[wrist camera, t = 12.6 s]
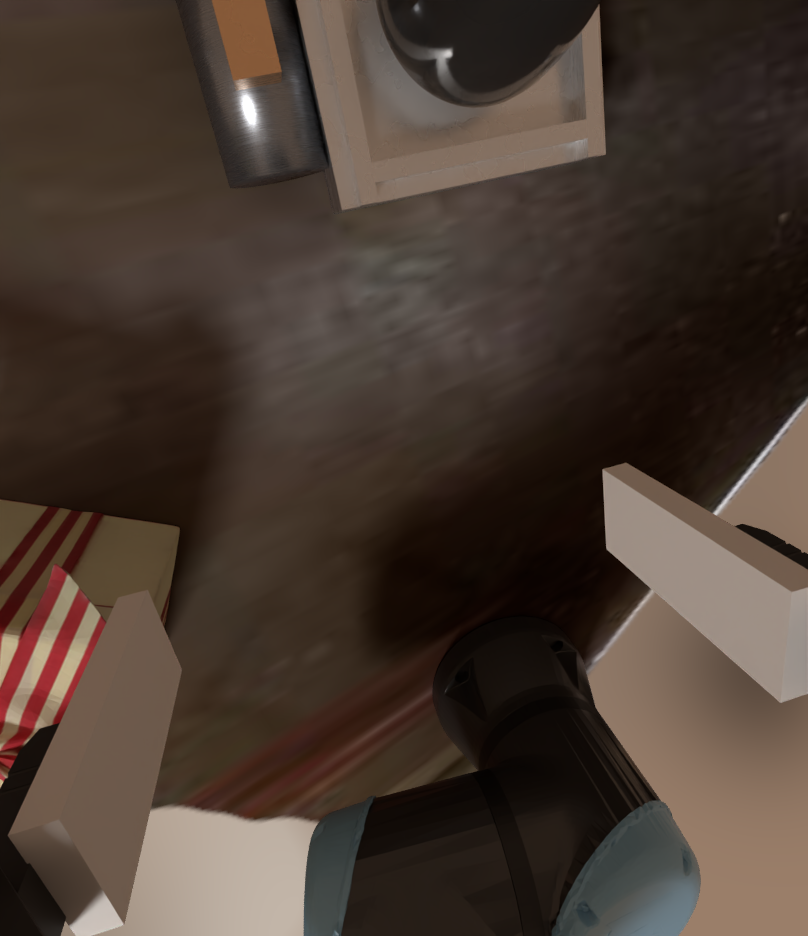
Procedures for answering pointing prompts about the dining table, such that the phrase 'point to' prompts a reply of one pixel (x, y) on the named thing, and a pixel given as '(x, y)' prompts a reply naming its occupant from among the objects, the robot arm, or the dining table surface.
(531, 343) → the dining table surface
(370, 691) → the dining table surface
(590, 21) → the white tray
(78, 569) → the gift box
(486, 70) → the pump dispenser
